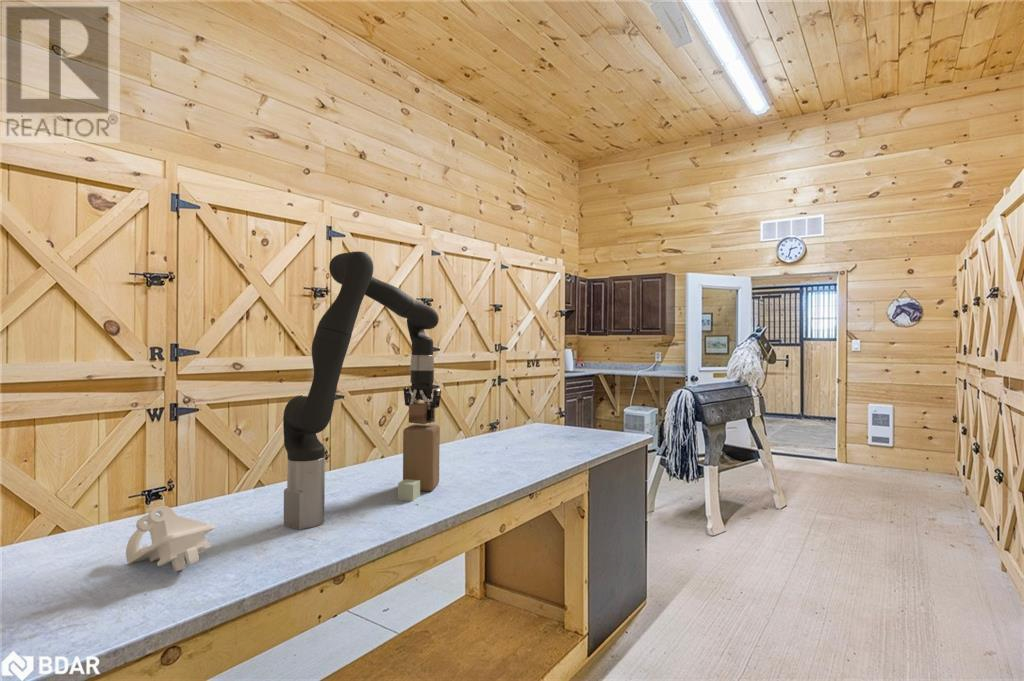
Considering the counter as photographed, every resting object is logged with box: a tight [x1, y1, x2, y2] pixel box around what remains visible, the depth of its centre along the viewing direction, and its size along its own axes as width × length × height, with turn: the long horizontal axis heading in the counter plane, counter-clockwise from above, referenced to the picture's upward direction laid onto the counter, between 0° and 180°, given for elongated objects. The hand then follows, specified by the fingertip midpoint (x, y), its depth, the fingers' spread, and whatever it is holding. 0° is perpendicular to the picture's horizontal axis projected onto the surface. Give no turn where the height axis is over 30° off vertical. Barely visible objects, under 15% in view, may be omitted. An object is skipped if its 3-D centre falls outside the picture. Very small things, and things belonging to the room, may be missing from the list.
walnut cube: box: [408, 401, 436, 425], centre depth 175 cm, size 6×6×6 cm
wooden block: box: [402, 423, 441, 492], centre depth 175 cm, size 10×10×20 cm
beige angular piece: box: [125, 505, 216, 573], centre depth 114 cm, size 20×11×13 cm, turn 55°
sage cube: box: [397, 479, 421, 502], centre depth 164 cm, size 5×5×5 cm
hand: (421, 419), depth 175 cm, fingers closed on walnut cube, 6 cm apart
